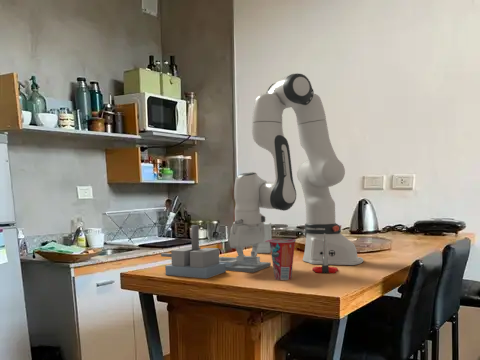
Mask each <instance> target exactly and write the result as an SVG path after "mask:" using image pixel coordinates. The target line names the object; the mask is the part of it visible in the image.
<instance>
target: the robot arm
mask: <svg viewBox="0 0 480 360" xmlns="http://www.w3.org/2000/svg"><path fill="white" fill-rule="evenodd" d="M314 92H315V91H314V89H313V86H312V83H311V81H310V79H309V78H308V77H307V76H306V75H305V74H303V73H298V72H297V73H292V74H289V75H287V76H284V77H282V78H280V79H279V80H278V81H275V82H274V83H272V84H271V85H270V86H269V87H268V88H267V90H266V92H265V93H261V94H260V95H258V96H257V97H256V98H255V101H254V106H253V110H252V119H251V135H252V139H253V141H254V142H255V143H256V144H257V146H259V147H260V148H261V149H264V150H266V151H268V152H269V153H270V154H271V155H272V157H273V163H274V173H275V181H267V180H265V179H263V178H262V177H260V176H258V173H256V172H254V171H252V172H250V171H249V172H244V173H240V174H238V175H237V176H236V177H235V181H234V188H233V190H234V191H233V195H234V197H233V198H234V202H235V207H234V221H233V223H232V226H231V227H230V232H229V246H230V248H231V249H236V250H235V251H236V253H237V256H238V259H239V260H240V261H242V260H245V256H246V255H245V254H244V251H245V250H244V248H245V247H250V246H251V247H252V248H251V251H250V256H257V257H258V253H257V250H258V247H259V243H261V242H263V241H264V238H265V225H264V223H266V216H264V215H263V214H262V213H261V210H260V209H269V210H278V211H279V210H280V211H288V210H290V209H291V208H292V207H293V206H294V204H295V202H296V200H297V190H296V186H295V183H294V179H293V167H292V160H291V159H292V158H291V152H290V151H291V150H290V145H289V142H288V140H287V138H286V137H285V135H284V130H283V113H284V110H285V109H290V108H292V111H294V113H295V116H296V126H297V131H298V137H299V143H300V146H301V147H302V148H303V150H304V152H305V154H306V156H307V160H306V161H305V160H304V161H303V162H302V163H300V165H298V166H297V171H296V177H297V180H298V181H299V183H300V184H301V189H302V192H303V197H304V203H305V224H304V235H305V236H304V237H305V243H304V244H305V246H304V253H303V257H302V261H303V262H305V263H309V264H312V265H323V240H324V234H326V240H327V257H328V265H337V266H340V265H341V266H354V265H360V264H362V263H363V262H364V258H363V257H360V256H358V252H357V251H358V250H357V247H356V245H355V244H354V242H352V241H351V240H350V239H348V238H347V237H346V236H344V235H343V234H342V233H341V231H342V225H340V224H338V223H336V203H335V200H334V199H333V197H332V195H331V192H330V188H329V187H333V186H335V185H338V184H339V183H341V182H342V181H343V180H344V177H345V174H346V169H345V166H344V164H343V162H342V161H341V160H339V158H338V157H337V154H336V152H335V151H334V147H333V146H332V142H331V139H330V133H329V130H328V129H329V127H328V122H327V116H326V112H325V109H324V105H323V102H322V99H321V97H320V95H318V94H316V93H314Z"/></svg>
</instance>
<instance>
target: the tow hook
mask: <svg viewBox="0 0 480 360" xmlns="http://www.w3.org/2000/svg"><path fill="white" fill-rule="evenodd" d="M329 265H330V264H328V257H327V240H326V234H324V240H323V264H321V266H314V267H312V271H313V272H315V273H316V274H336V272H338V270H339V268H338V267H334V266H329Z"/></svg>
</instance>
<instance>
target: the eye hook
mask: <svg viewBox="0 0 480 360" xmlns="http://www.w3.org/2000/svg"><path fill="white" fill-rule="evenodd" d="M260 262H261V256H258V255H257V256H251V255H245V260H242V261H240V260H239V259H238V255H236V257H233V256H231V257H230V256H219V263H225V266H229V267H232V266H235V265H244V266H259V265H260Z"/></svg>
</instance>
